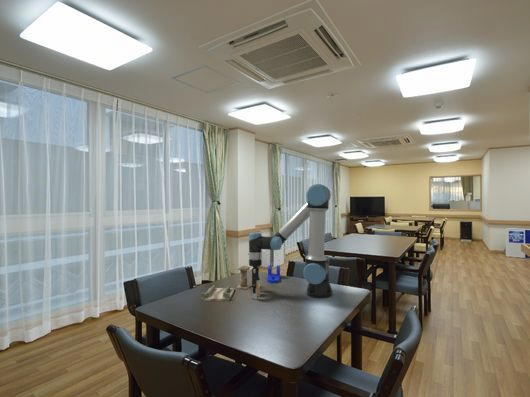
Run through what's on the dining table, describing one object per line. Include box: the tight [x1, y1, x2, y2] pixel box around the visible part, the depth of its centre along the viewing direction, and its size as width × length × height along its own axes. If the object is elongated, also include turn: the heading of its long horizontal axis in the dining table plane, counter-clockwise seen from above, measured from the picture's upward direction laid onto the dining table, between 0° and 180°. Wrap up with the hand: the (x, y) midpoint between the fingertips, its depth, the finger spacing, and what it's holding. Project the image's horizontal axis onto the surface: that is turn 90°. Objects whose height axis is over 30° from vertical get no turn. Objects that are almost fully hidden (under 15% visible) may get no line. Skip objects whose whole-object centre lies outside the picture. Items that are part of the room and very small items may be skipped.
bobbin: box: [236, 265, 251, 290], centre depth 184 cm, size 8×8×13 cm
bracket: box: [266, 264, 281, 284], centre depth 202 cm, size 18×8×9 cm, turn 174°
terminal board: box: [200, 284, 236, 302], centre depth 170 cm, size 16×20×4 cm
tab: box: [250, 283, 261, 298], centre depth 169 cm, size 5×5×7 cm
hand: (255, 294), depth 169 cm, fingers open, 13 cm apart
